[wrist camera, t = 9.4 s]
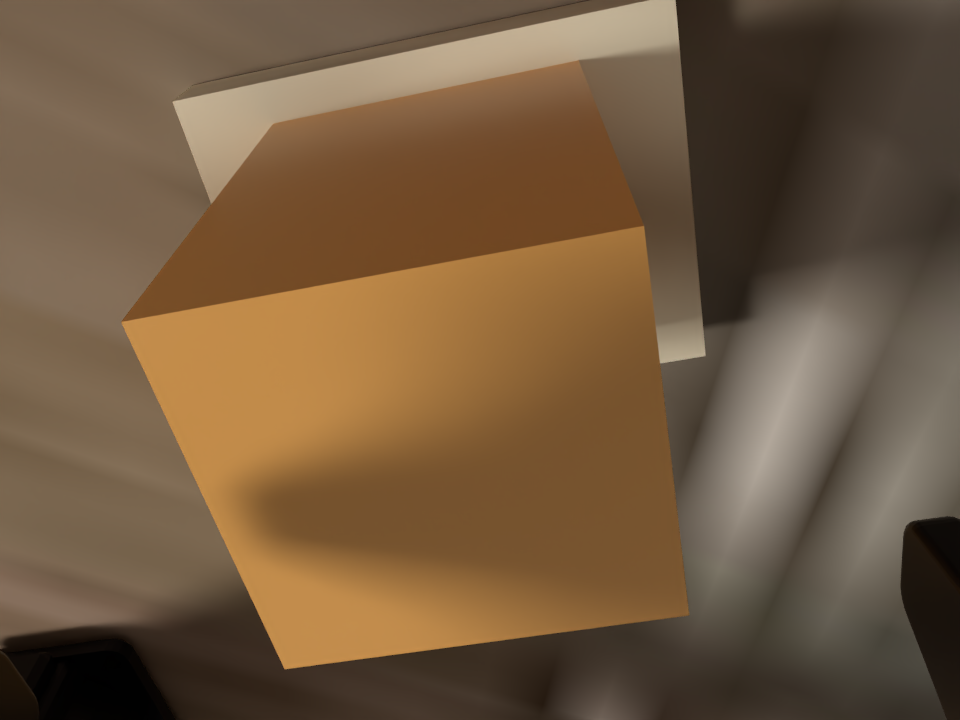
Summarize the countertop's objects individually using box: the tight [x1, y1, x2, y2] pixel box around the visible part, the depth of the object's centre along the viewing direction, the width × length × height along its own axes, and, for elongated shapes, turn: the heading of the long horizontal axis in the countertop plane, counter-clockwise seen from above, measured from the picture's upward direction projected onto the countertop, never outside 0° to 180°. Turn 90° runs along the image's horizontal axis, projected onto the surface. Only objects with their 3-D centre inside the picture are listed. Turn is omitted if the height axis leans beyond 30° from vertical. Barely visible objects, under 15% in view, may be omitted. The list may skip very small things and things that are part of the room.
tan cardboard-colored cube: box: [121, 60, 689, 669], centre depth 14 cm, size 6×6×8 cm
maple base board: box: [173, 0, 705, 363], centre depth 17 cm, size 7×9×1 cm
